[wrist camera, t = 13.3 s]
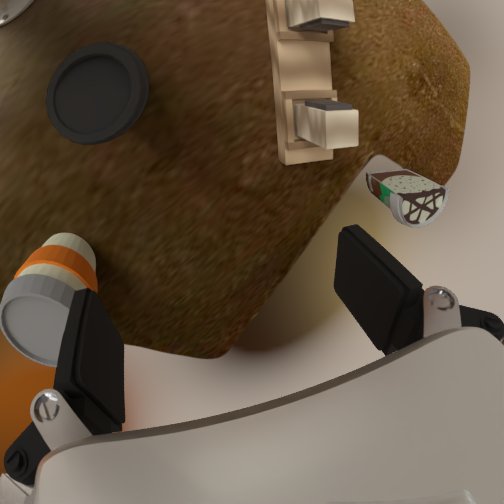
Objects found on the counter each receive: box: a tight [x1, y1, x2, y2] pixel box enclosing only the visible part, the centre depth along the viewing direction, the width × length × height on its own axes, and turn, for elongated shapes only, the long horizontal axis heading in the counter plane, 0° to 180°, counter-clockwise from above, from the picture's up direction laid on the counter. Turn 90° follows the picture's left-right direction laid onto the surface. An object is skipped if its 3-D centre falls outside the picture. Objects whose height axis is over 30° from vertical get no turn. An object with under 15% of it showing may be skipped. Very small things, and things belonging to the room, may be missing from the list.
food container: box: [366, 169, 450, 228], centre depth 42 cm, size 12×6×10 cm, turn 94°
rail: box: [265, 0, 355, 165], centre depth 27 cm, size 26×7×10 cm, turn 5°
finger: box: [293, 100, 358, 149], centre depth 30 cm, size 5×4×8 cm
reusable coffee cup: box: [0, 233, 98, 367], centre depth 31 cm, size 13×13×15 cm
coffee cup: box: [46, 43, 150, 145], centre depth 22 cm, size 8×8×15 cm
